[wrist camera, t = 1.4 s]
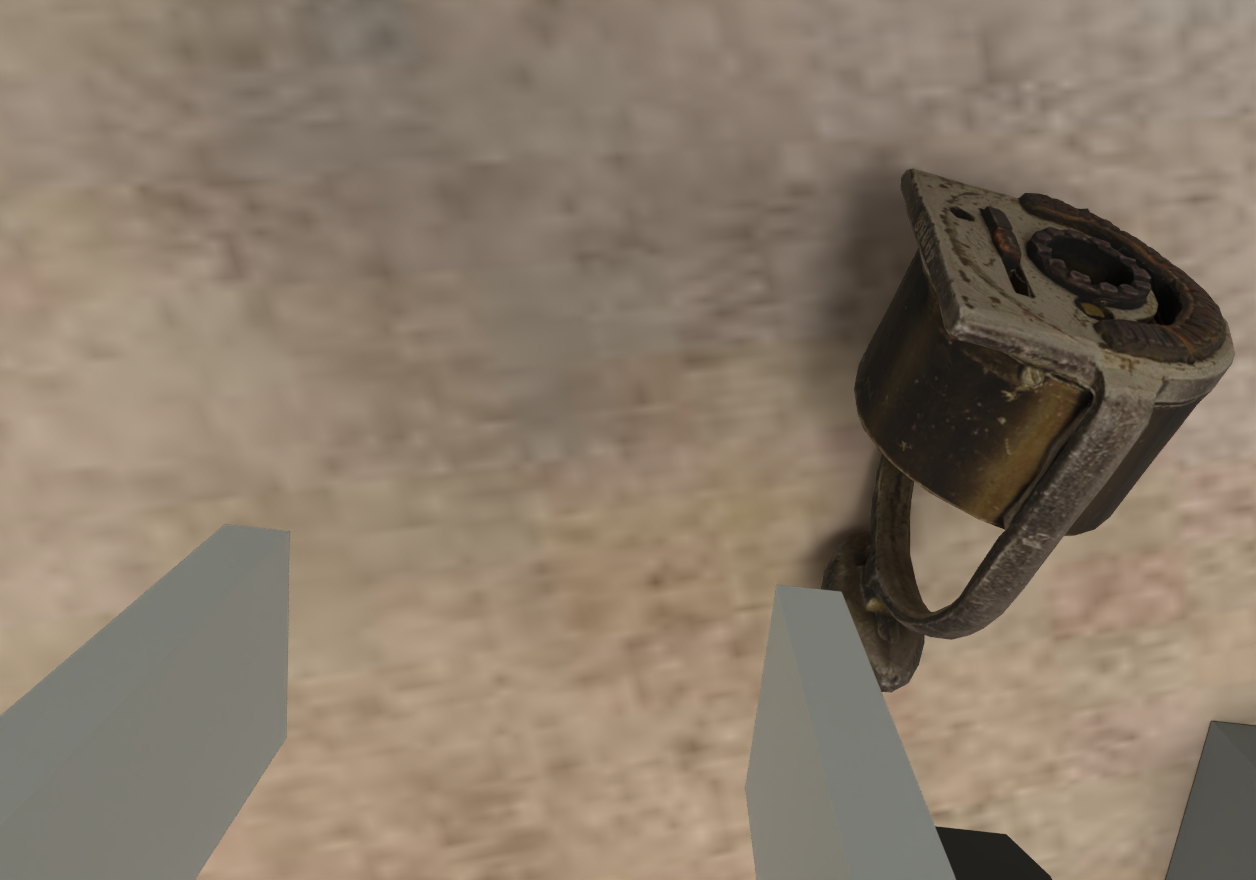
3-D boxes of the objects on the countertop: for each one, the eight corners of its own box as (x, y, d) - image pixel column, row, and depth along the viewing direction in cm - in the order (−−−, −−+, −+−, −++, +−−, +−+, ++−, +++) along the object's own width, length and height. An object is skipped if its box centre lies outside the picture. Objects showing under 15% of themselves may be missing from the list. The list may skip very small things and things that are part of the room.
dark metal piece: (1112, 168, 27) (1368, 178, 17) (1053, 625, 30) (1238, 849, 20) (830, 165, 27) (924, 173, 17) (803, 620, 30) (869, 838, 21)
